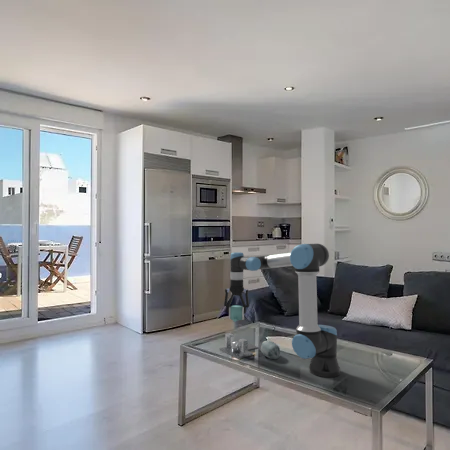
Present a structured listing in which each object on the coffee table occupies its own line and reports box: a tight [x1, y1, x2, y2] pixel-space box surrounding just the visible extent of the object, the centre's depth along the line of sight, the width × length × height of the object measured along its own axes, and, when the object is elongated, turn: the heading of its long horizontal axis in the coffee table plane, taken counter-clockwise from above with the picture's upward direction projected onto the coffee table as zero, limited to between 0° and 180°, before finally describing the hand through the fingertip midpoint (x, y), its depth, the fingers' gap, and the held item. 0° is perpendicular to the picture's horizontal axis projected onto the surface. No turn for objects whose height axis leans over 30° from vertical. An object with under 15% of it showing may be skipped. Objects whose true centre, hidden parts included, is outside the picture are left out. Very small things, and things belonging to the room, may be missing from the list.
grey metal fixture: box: [218, 332, 254, 360], centre depth 219 cm, size 18×11×9 cm, turn 35°
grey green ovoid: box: [260, 340, 281, 360], centre depth 213 cm, size 14×10×10 cm
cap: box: [230, 305, 243, 323], centre depth 219 cm, size 13×7×7 cm, turn 170°
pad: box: [240, 343, 259, 351], centre depth 228 cm, size 8×8×1 cm
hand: (236, 318), depth 219 cm, fingers closed on cap, 7 cm apart
